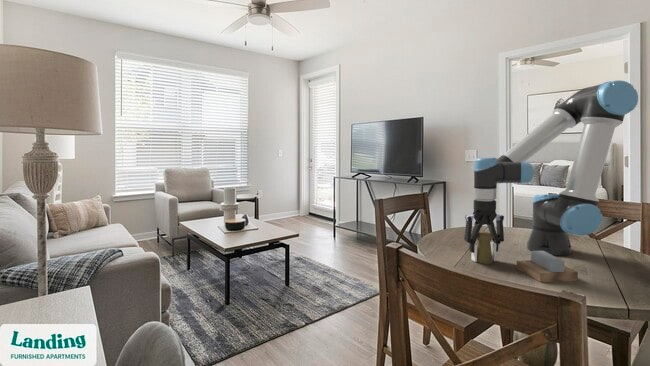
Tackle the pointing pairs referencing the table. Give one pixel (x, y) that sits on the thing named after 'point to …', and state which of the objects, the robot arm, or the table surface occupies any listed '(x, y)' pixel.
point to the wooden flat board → (546, 272)
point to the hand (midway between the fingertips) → (483, 260)
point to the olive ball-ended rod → (484, 248)
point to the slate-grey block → (547, 261)
